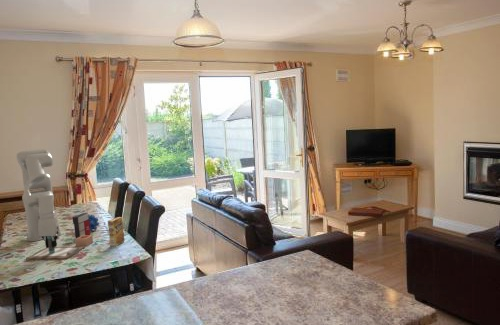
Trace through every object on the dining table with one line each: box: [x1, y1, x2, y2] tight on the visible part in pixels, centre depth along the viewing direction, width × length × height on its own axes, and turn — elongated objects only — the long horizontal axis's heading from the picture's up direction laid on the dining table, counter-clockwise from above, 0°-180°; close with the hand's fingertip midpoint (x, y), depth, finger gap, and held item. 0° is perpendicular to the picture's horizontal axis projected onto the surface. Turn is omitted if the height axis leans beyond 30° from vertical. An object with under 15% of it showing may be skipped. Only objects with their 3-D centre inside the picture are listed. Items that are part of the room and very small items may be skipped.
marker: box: [47, 236, 55, 253], centre depth 216 cm, size 3×3×10 cm
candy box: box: [107, 216, 125, 247], centre depth 229 cm, size 9×4×15 cm, turn 162°
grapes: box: [88, 213, 100, 232], centre depth 261 cm, size 12×7×12 cm, turn 131°
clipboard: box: [25, 246, 86, 261], centre depth 217 cm, size 24×18×2 cm
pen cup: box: [74, 234, 94, 247], centre depth 232 cm, size 7×7×4 cm
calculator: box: [72, 212, 91, 239], centre depth 246 cm, size 11×4×15 cm, turn 168°
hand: (51, 246), depth 216 cm, fingers closed on marker, 3 cm apart
